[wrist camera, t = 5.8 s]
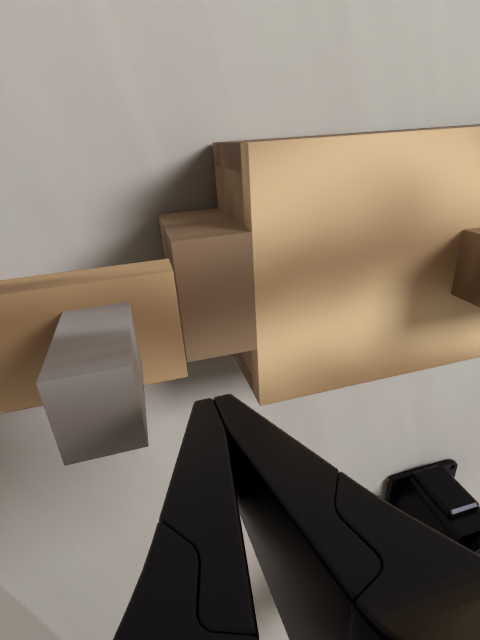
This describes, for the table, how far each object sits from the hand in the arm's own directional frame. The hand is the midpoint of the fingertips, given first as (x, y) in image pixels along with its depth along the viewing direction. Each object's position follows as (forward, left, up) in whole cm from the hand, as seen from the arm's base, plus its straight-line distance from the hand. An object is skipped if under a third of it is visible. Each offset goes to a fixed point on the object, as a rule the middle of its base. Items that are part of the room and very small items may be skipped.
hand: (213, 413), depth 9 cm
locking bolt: (0, +4, -6) cm, 7 cm away
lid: (0, -11, -8) cm, 13 cm away
